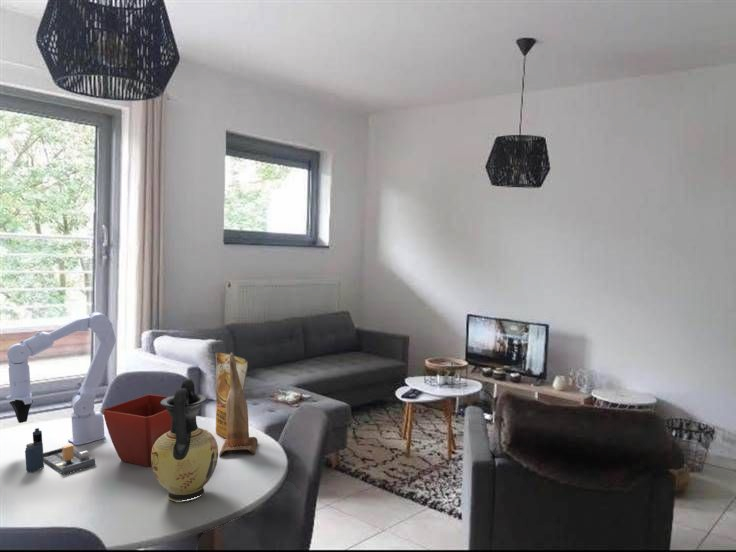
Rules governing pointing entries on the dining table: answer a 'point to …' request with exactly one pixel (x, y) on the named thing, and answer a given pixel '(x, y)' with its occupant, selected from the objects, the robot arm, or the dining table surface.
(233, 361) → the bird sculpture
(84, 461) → the mixer console
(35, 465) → the vaping device
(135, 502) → the dining table surface
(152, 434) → the plant pot
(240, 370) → the pancake mix bag
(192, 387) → the amphora
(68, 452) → the orange fader
